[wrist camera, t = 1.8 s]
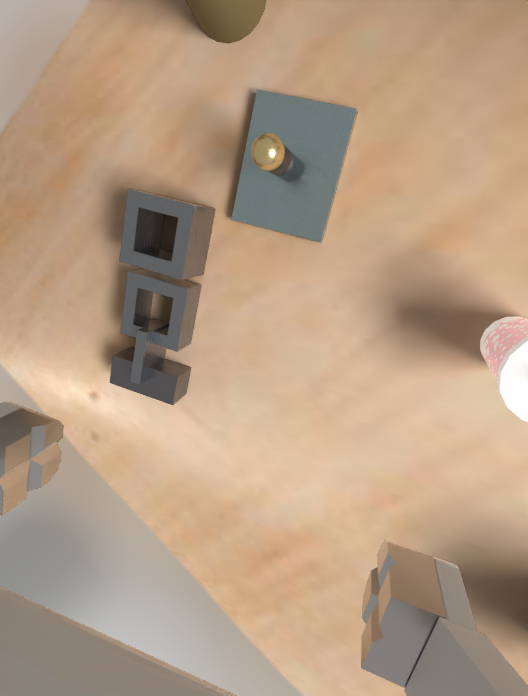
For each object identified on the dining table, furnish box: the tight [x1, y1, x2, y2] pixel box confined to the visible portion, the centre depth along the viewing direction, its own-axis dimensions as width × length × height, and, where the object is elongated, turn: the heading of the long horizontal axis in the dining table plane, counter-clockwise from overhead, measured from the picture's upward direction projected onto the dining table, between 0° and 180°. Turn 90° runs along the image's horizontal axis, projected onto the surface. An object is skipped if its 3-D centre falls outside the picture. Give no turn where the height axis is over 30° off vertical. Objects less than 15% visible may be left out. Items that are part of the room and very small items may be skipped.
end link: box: [119, 189, 215, 280], centre depth 36 cm, size 6×6×4 cm
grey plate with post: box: [231, 90, 357, 243], centre depth 30 cm, size 10×8×9 cm
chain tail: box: [110, 269, 201, 405], centre depth 39 cm, size 12×7×4 cm, turn 166°
